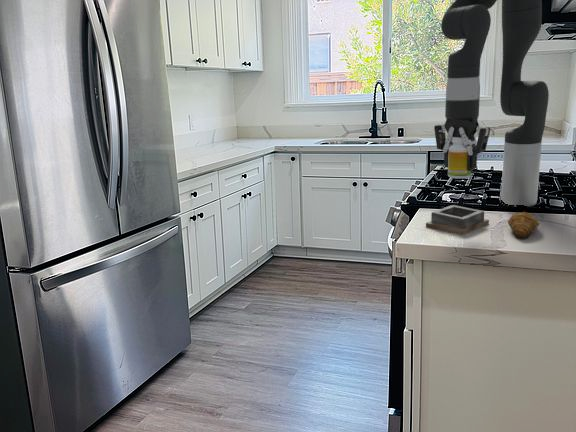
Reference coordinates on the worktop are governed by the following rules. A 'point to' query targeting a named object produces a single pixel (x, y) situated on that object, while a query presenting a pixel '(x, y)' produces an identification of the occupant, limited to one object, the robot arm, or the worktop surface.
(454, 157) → the supplement bottle
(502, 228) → the worktop surface
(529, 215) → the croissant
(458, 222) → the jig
